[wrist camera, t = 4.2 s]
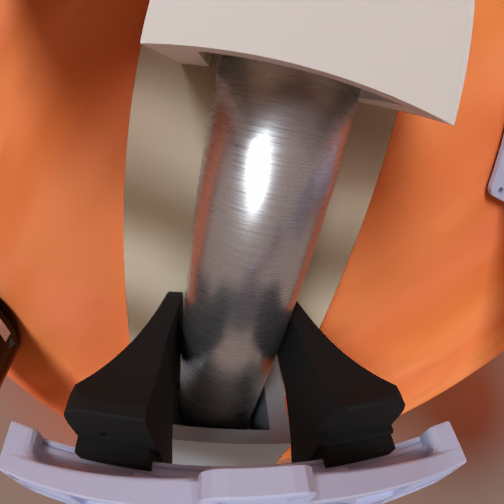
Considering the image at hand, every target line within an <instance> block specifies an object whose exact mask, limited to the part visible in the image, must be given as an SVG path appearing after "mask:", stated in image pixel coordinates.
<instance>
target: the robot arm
mask: <svg viewBox="0 0 504 504" xmlns="http://www.w3.org/2000/svg"><path fill="white" fill-rule="evenodd" d="M488 193H489V194H490V195H491V196H493V197H495V198H497V199H499V200H501V201H503V202H504V134H503V138H502V142H501V146H500V149H499V153H498V156H497V159H496V163H495V166H494V169H493V172H492V175H491V178H490V181H489V184H488ZM183 320H184V311H183V292H170V291H169V292H168V293H167V294H166V296H165V298H164V299H163V301H162V303H161V304H160V306H159V307H158V309H157V310H156V312H155V313H154V315H153V316H152V317H151V319H150V320H149V322H148V323H147V324H146V325H145V327H144V328H143V329H142V330H141V332H140V333H139V334H138V335H137V336H136V337H135V339H134V340H133V341H132V342H131V343H130V344H129V345H128V346H127V347H126V348H125V349H124V350H123V351H122V352H121V353H120V354H119V355H117V356H116V357H115V358H114V359H113V360H112V361H110V362H109V363H108V364H107V365H105V366H104V367H102V368H101V369H100V370H98V371H97V372H96V373H94V374H93V375H91V376H89V377H88V378H86V379H84V380H83V381H81V382H79V383H77V384H75V386H74V388H73V390H72V392H71V394H70V396H69V399H68V402H67V406H66V409H65V412H64V417H65V419H66V421H67V422H68V424H69V425H70V426H71V428H72V429H73V430H74V431H75V433H76V434H77V435H78V439H77V443H76V447H72V446H68V445H65V444H61V443H58V442H55V441H51V440H48V439H45V438H43V436H42V435H41V434H40V433H39V432H38V431H37V430H35V429H33V428H31V427H29V426H26V425H23V424H20V423H17V422H15V421H12V422H11V424H10V427H9V430H8V433H7V436H6V439H5V443H4V446H3V449H2V452H1V456H0V470H1V471H2V472H3V473H5V474H6V475H8V476H9V477H11V478H12V479H14V480H15V481H17V482H18V483H20V484H21V485H23V486H24V487H26V488H28V489H30V490H33V491H35V492H38V493H40V494H43V495H45V496H48V497H50V498H53V499H56V500H58V501H61V502H64V503H67V504H383V503H386V502H389V501H392V500H394V499H397V498H400V497H402V496H405V495H407V494H410V493H412V492H415V491H417V490H419V489H422V488H424V487H426V486H429V485H431V484H433V483H436V482H437V481H439V480H441V479H442V478H444V477H445V476H447V475H448V474H450V473H451V472H453V471H454V470H456V469H457V468H459V467H460V466H461V465H463V464H464V463H466V458H465V456H464V453H463V451H462V449H461V447H460V444H459V442H458V440H457V438H456V435H455V433H454V431H453V429H452V426H451V424H450V422H449V421H446V422H443V423H440V424H438V425H435V426H432V427H430V428H428V429H427V430H425V431H424V432H423V433H422V434H421V435H420V436H419V437H416V438H413V439H410V440H407V441H403V442H400V443H396V444H394V442H393V439H392V436H391V434H392V433H393V429H392V426H391V424H392V423H393V422H394V421H395V420H396V419H397V418H398V417H399V415H400V414H401V413H402V411H403V410H404V407H405V403H404V401H403V398H402V396H401V394H400V392H399V390H398V388H397V386H396V385H394V384H392V383H390V382H388V381H386V380H383V379H381V378H379V377H378V376H376V375H374V374H373V373H371V372H369V371H368V370H366V369H364V368H363V367H361V366H360V365H359V364H357V363H356V362H354V361H353V360H352V359H350V358H349V357H348V356H347V355H345V354H344V353H343V352H342V351H341V350H340V349H338V348H337V347H336V346H335V345H334V344H333V343H332V342H331V341H330V340H329V339H328V338H327V337H326V336H325V335H324V334H323V333H322V332H321V330H320V329H319V328H318V327H317V326H316V325H315V323H314V322H313V321H312V320H311V319H310V317H309V316H308V315H307V314H306V312H305V311H304V310H303V308H302V307H301V306H300V304H299V303H298V302H297V301H296V304H295V307H294V309H293V312H292V315H291V317H290V320H289V323H288V325H287V328H286V331H285V333H284V336H283V339H282V341H281V344H280V346H279V349H278V352H277V357H278V362H279V366H280V370H281V374H282V378H283V382H284V386H285V392H286V398H287V407H288V416H289V426H290V439H291V456H292V463H287V464H275V465H259V466H197V465H180V464H172V436H173V407H174V392H175V384H176V379H177V373H178V368H179V363H180V357H181V351H182V334H183Z"/></svg>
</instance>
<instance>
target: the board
mask: <svg viewBox="0 0 504 504" xmlns="http://www.w3.org/2000/svg"><path fill="white" fill-rule="evenodd" d="M220 56H221V54H216V53H212V56H211V61H210V65H209V67H208V66H199V65H190V64H181V63H179V62H177V61H175V60H173V59H171V58H169V57H167V56H165V55H163V54H161V53H159V52H157V51H155V50H153V49H151V48H149V47H147V46H145V45H143V44H141V48H140V53H139V58H138V64H137V70H136V76H135V82H134V89H133V96H132V103H131V111H130V120H129V129H128V140H127V152H126V166H125V185H124V269H125V289H126V303H127V315H128V326H129V336H130V343H131V342H132V341H133V340H134V339H135V337H136V336H137V335H138V334H139V333H140V332H141V330H142V329H143V328H144V327H145V325H146V324H147V323H148V322H149V320H150V319H151V317H152V316H153V315H154V313H155V312H156V310H157V309H158V307H159V306H160V304H161V303H162V301H163V299H164V298H165V296H166V294H167V293H168V292H169V291H170V292H183V311H184V306H185V294H186V283H187V272H188V262H189V252H190V243H191V234H192V226H193V218H194V210H195V202H196V194H197V187H198V180H199V173H200V166H201V160H202V153H203V147H204V141H205V135H206V129H207V123H208V117H209V112H210V106H211V101H212V96H213V90H214V85H215V80H216V75H217V70H218V65H219V61H220ZM397 111H398V110H395V109H390V108H386V107H381V106H376V105H371V104H366V103H362V102H359V101H358V103H357V107H356V111H355V115H354V118H353V122H352V126H351V130H350V133H349V137H348V141H347V144H346V148H345V152H344V155H343V159H342V162H341V166H340V169H339V173H338V176H337V179H336V183H335V186H334V189H333V193H332V196H331V199H330V203H329V206H328V209H327V212H326V215H325V219H324V222H323V225H322V228H321V231H320V234H319V237H318V240H317V243H316V246H315V249H314V252H313V255H312V258H311V261H310V264H309V267H308V270H307V273H306V276H305V279H304V281H303V284H302V287H301V290H300V293H299V296H298V298H297V302H298V303H299V304H300V306H301V307H302V308H303V310H304V311H305V312H306V314H307V315H308V316H309V317H310V319H311V320H312V321H313V322H314V323H315V325H316V326H317V327H318V328H320V325H321V323H322V321H323V319H324V317H325V314H326V312H327V310H328V308H329V305H330V303H331V301H332V298H333V296H334V294H335V291H336V289H337V287H338V284H339V282H340V280H341V277H342V275H343V272H344V270H345V267H346V265H347V262H348V260H349V257H350V255H351V252H352V250H353V247H354V244H355V242H356V239H357V237H358V234H359V231H360V229H361V226H362V223H363V220H364V218H365V215H366V212H367V209H368V206H369V203H370V200H371V198H372V195H373V192H374V189H375V186H376V183H377V180H378V176H379V173H380V170H381V167H382V164H383V161H384V157H385V154H386V151H387V147H388V144H389V140H390V137H391V133H392V130H393V126H394V123H395V119H396V115H397ZM274 360H277V361H278V357H277V354H276V357H275V359H274ZM278 366H279V362H278ZM180 370H181V357H180V363H179V368H178V373H177V379H176V384H175V390H178V391H180ZM279 371H280V377H281V382H282V388H283V393H284V398H285V396H286V392H285V386H284V382H283V378H282V374H281V370H280V366H279Z"/></svg>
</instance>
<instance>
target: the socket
mask: <svg viewBox="0 0 504 504" xmlns="http://www.w3.org/2000/svg"><path fill="white" fill-rule="evenodd" d="M179 396H180V391H178V390H175V392H174V407H173V436H172V464H180V465H197V466H259V465H275V464H276V462H277V461H278V460H279V459H280V458H281V456H282V455H283V454H284V453H285V452H286V450H287V449H288V448H289V447H290V445H291V439H290V427H289V421H288V415H287V410H286V404H285V399H284V393H283V388H282V382H281V377H280V371H279V366H278V361H277V360H274V362H273V364H272V367H271V369H270V372H269V374H268V377H267V379H266V381H265V384H264V386H263V389H262V391H261V394H260V396H259V398H258V401H257V403H256V405H255V408H254V410H253V412H252V416H251V419H250V422H249V424H248V426H247V428H246V429H245V430H238V429H216V428H202V427H190V426H181V423H180V419H179V414H178V401H179Z"/></svg>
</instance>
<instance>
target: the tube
mask: <svg viewBox="0 0 504 504" xmlns="http://www.w3.org/2000/svg"><path fill="white" fill-rule="evenodd" d="M360 91H361V88H358V87H355V86H352V85H349V84H346V83H343V82H340V81H337V80H334V79H331V78H327V77H324V76H320V75H317V74H313V73H310V72H306V71H302V70H299V69H295V68H291V67H286V66H282V65H278V64H273V63H269V62H264V61H259V60H254V59H248V58H242V57H237V56H230V55H223V54H221V56H220V61H219V65H218V70H217V75H216V80H215V85H214V90H213V96H212V101H211V106H210V112H209V117H208V123H207V129H206V135H205V141H204V147H203V153H202V160H201V166H200V173H199V180H198V187H197V194H196V202H195V210H194V218H193V226H192V234H191V243H190V252H189V262H188V272H187V283H186V294H185V306H184V320H183V334H182V351H181V370H180V396H179V401H178V414H179V419H180V423H181V426H190V427H202V428H216V429H238V430H245V429H246V428H247V426H248V424H249V422H250V419H251V416H252V412H253V410H254V408H255V405H256V403H257V401H258V398H259V396H260V394H261V391H262V389H263V386H264V384H265V381H266V379H267V377H268V374H269V372H270V369H271V367H272V364H273V362H274V359H275V357H276V354H277V352H278V349H279V346H280V344H281V341H282V339H283V336H284V333H285V331H286V328H287V325H288V323H289V320H290V317H291V315H292V312H293V309H294V307H295V304H296V301H297V298H298V296H299V293H300V290H301V287H302V284H303V281H304V279H305V276H306V273H307V270H308V267H309V264H310V261H311V258H312V255H313V252H314V249H315V246H316V243H317V240H318V237H319V234H320V231H321V228H322V225H323V222H324V219H325V215H326V212H327V209H328V206H329V203H330V199H331V196H332V193H333V189H334V186H335V183H336V179H337V176H338V173H339V169H340V166H341V162H342V159H343V155H344V152H345V148H346V144H347V141H348V137H349V133H350V130H351V126H352V122H353V118H354V115H355V111H356V107H357V103H358V99H359V95H360Z"/></svg>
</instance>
